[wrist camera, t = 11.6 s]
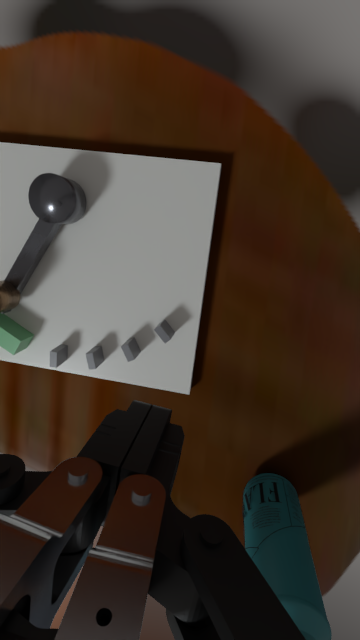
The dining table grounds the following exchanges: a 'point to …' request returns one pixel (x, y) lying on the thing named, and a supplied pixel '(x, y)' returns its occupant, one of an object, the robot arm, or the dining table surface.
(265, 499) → the beverage bottle
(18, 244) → the dial board
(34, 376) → the dining table surface
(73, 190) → the lever
